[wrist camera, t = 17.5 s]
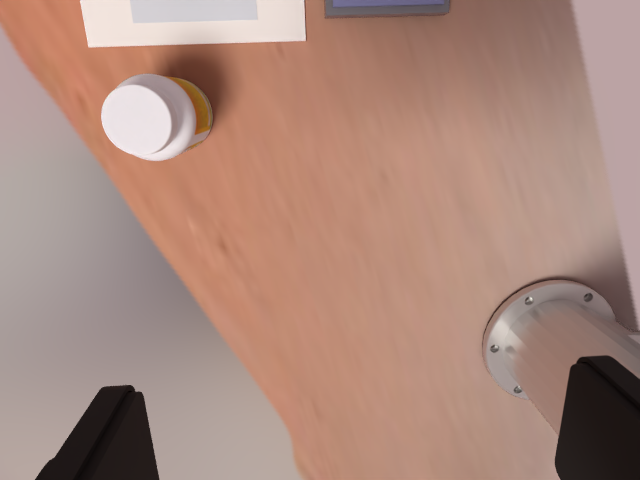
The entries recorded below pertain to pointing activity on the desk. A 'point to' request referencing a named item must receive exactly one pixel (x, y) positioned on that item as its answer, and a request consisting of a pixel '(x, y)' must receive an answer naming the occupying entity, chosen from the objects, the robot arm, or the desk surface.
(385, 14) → the ink pad
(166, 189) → the desk surface
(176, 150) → the supplement bottle
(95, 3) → the paper
